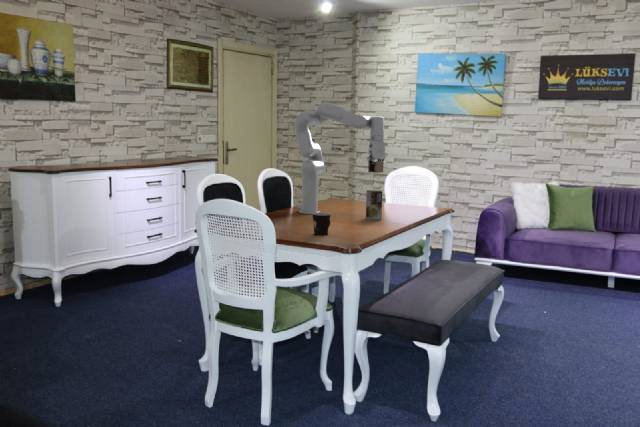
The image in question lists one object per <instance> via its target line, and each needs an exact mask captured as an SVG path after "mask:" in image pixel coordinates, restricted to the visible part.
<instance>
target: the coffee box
mask: <svg viewBox="0 0 640 427" xmlns="http://www.w3.org/2000/svg"><path fill="white" fill-rule="evenodd" d="M365 197H366V198H365V202H366V204H365V220H377V221H378V220H380V221H382V217H383V215H382V214H383V213H382V212H383V211H382V210H383V190H376V189H375V190H373V189H372V190H371V189H370V190H369V189H367V190H366V196H365Z"/></svg>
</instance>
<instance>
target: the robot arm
mask: <svg viewBox="0 0 640 427" xmlns="http://www.w3.org/2000/svg"><path fill="white" fill-rule="evenodd" d="M328 120H331V121H334V122H338V123H339V124H343V125H345V126H348V127H351V128H354V129H357V130H370V131H369V132H370V133H369V144H368V151H367V156H366V160H367V162H368V163H369V164H370V166H369V171H374V165H375V164H374V161H380V162H384V161H385V159H386V145H385V141H384V140H385V139H384V134H385V132H384V131H385V118H384V116H367V115H360V114H356V113H353V112H351V111H348V109H347V108H345V107H341V106H338V105H335V104H334V103H333V102H327V101H326V102H325V101H324V102H321V103H319V104H318V105H317V107H316V110H314V111H312V110H304V111H302V112H300V113H299V114H297V116H296V117H295V119H294V125H293V126H294V131H295V135H296V140H297V144H298V151H299V154H300V156H301V157H302V158H304V159H307V160H305V161H304V162H303V163H302V164H301V166H300V173H301V204H299V205H298V206H297V208H298V209H300V210H298V213H300V214H304V215H313V213H321V210H319V209H318V208H319V207H318V205H319V204H318V201H319V196H318V195H319V179H318V175H322V174H323V173H324V171H325V162H324V157H323V153H322V148H321V146H320V145H319V143H317V142H316V141H313V139H312V134H311V131H310V128H309V127H316V126H318V125H320V124H322V123H324V122H327V121H328Z"/></svg>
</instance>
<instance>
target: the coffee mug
mask: <svg viewBox="0 0 640 427" xmlns="http://www.w3.org/2000/svg"><path fill="white" fill-rule="evenodd" d="M312 222H313V223H312V224H313V225H312V226H313V233H314V234H315V235H314V236H317V235H322V236H321V237H324V236H323V235H326V236H328V234H329V228H330V225H331V213H328V212H320V213H313V214H312Z"/></svg>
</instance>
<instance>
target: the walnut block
mask: <svg viewBox="0 0 640 427" xmlns="http://www.w3.org/2000/svg"><path fill="white" fill-rule="evenodd" d="M374 164H375V165H374V171H369V166H370V164H369V162H368V166H367V167H368V169H367V172H368V173H376V174H377V173H378V174H379V173H384V161H383V162H380V161H377V160H375V161H374Z"/></svg>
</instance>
